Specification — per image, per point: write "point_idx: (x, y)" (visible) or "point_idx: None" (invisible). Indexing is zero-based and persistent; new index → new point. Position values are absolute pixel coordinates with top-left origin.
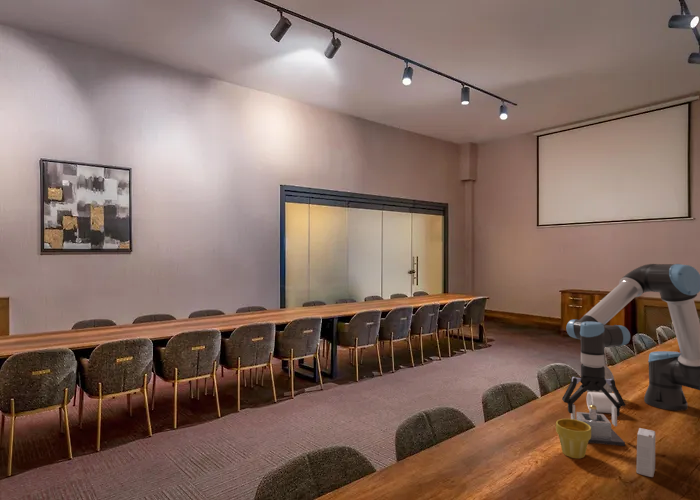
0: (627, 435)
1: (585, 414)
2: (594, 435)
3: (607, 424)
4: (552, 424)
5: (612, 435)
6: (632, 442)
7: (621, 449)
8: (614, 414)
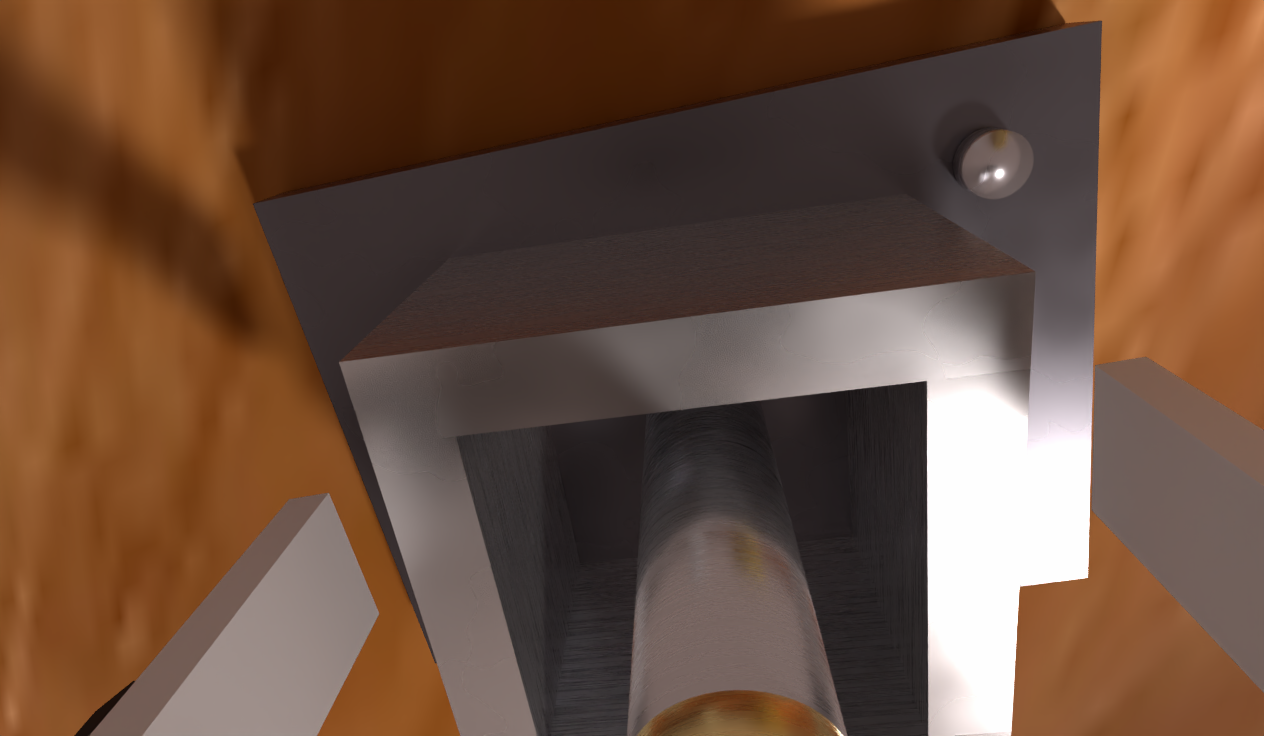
0: None
1: None
2: (714, 226)
3: (433, 340)
4: None
5: None
6: (195, 376)
7: (328, 15)
8: (193, 673)
